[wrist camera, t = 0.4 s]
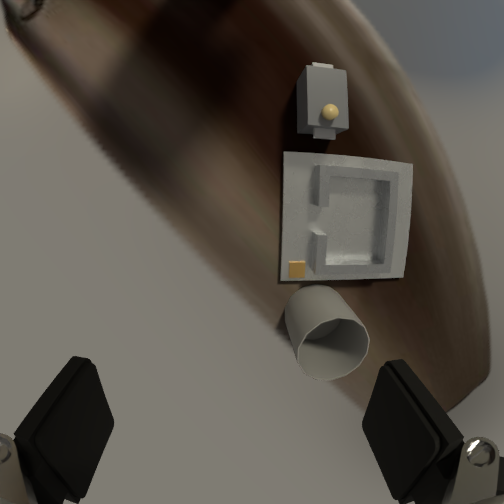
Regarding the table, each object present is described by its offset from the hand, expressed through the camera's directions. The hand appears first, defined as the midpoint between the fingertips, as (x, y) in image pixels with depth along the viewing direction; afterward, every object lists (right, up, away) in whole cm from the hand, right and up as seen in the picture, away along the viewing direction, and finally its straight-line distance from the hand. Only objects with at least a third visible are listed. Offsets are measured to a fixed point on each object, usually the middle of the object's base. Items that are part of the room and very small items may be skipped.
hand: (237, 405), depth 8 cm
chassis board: (+13, +9, +28) cm, 32 cm away
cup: (+9, -4, +31) cm, 33 cm away
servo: (+8, +23, +24) cm, 34 cm away
